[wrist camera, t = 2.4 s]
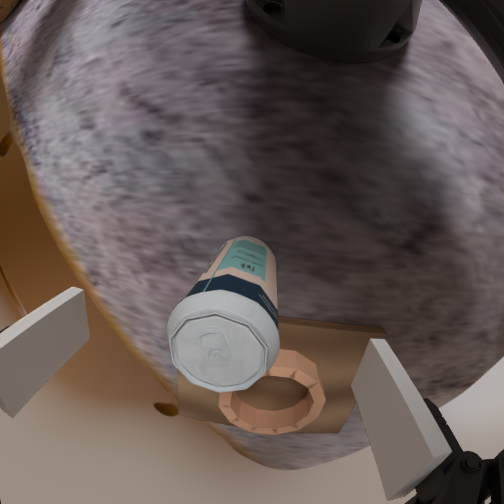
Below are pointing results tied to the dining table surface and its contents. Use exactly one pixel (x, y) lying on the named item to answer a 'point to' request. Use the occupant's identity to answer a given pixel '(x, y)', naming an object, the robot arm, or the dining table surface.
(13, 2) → the bread
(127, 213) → the dining table surface
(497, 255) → the dining table surface
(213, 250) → the dining table surface
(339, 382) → the board
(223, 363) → the lidded canister
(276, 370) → the ring
